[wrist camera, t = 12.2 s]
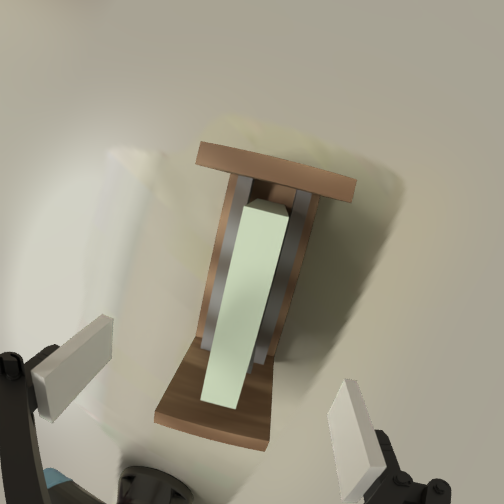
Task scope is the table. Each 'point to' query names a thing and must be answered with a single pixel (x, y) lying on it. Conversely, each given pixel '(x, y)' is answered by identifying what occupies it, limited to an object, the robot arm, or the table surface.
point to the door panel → (244, 300)
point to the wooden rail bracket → (278, 302)
